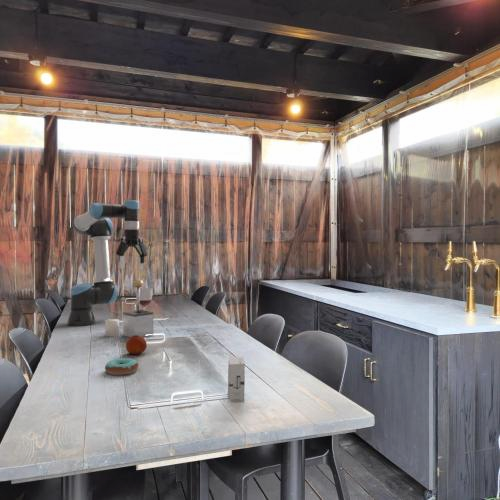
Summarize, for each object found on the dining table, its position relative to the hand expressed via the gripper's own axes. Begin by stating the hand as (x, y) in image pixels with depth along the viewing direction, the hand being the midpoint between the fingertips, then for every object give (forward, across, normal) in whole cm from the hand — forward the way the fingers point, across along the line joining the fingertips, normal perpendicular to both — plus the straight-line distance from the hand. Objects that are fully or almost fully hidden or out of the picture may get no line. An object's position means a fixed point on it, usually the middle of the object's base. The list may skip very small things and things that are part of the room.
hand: (131, 268), depth 230 cm
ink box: (+31, +100, -56) cm, 119 cm away
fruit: (+33, +36, -33) cm, 59 cm away
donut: (+33, +49, -54) cm, 80 cm away
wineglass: (+34, 0, +11) cm, 36 cm away
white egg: (+34, -2, -12) cm, 36 cm away
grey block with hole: (+34, +10, -5) cm, 36 cm away
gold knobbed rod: (+24, +10, -5) cm, 26 cm away
